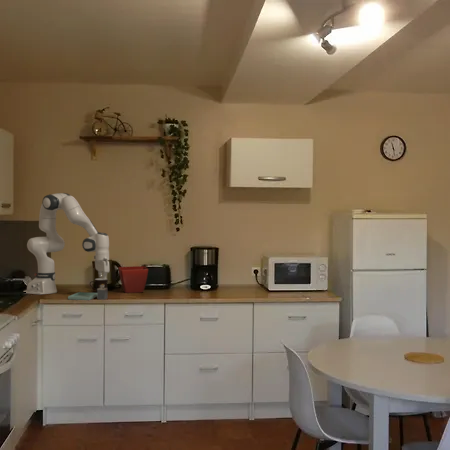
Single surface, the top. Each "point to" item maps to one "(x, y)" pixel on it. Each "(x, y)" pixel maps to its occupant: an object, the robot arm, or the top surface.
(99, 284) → the coffee mug
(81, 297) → the tray
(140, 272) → the plant pot
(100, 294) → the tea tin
